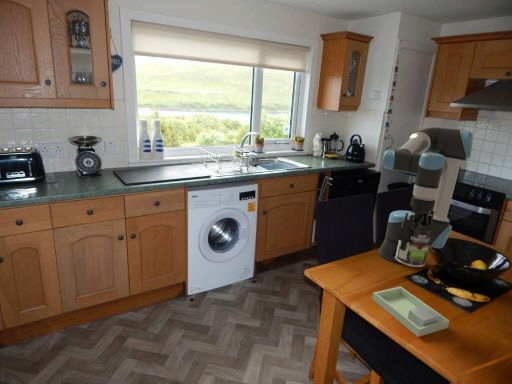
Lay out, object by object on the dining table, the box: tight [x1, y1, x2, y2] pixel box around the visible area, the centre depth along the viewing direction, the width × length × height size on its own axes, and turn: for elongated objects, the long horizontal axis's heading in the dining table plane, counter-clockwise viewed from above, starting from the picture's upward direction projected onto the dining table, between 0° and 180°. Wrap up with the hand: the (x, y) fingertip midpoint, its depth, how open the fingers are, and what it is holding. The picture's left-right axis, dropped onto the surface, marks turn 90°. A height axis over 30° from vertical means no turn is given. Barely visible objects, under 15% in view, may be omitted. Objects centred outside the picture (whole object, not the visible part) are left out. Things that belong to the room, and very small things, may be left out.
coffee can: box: [395, 221, 433, 268], centre depth 123 cm, size 10×10×14 cm
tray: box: [371, 286, 450, 338], centre depth 124 cm, size 14×22×4 cm, turn 23°
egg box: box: [408, 306, 440, 328], centre depth 118 cm, size 8×6×4 cm
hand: (411, 255), depth 124 cm, fingers closed on coffee can, 10 cm apart
